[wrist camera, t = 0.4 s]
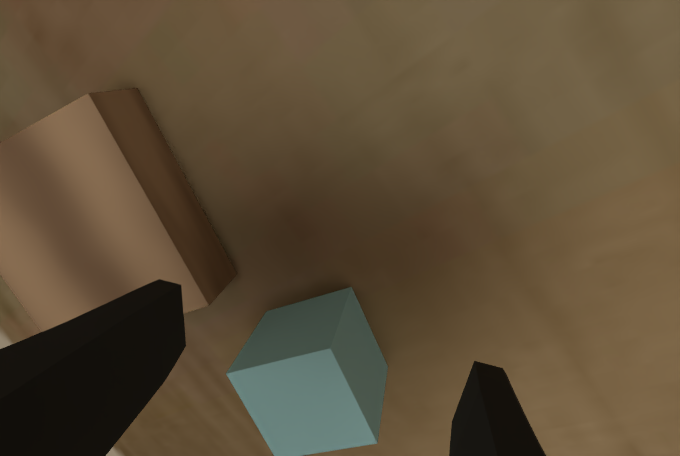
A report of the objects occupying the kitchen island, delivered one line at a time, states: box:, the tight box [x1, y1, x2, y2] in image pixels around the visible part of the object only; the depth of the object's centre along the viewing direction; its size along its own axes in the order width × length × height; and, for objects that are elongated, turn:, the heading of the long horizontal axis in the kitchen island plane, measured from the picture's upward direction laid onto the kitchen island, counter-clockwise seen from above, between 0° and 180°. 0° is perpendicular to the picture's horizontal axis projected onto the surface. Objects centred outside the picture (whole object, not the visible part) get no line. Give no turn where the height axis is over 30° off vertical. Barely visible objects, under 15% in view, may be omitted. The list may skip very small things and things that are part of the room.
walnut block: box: [0, 88, 237, 332], centre depth 21 cm, size 10×10×4 cm
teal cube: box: [226, 287, 388, 456], centre depth 20 cm, size 5×5×5 cm
